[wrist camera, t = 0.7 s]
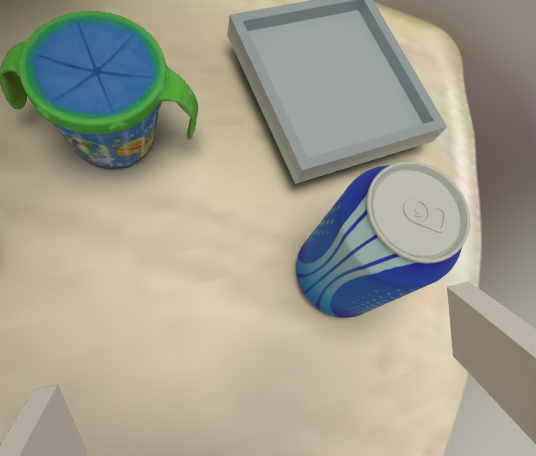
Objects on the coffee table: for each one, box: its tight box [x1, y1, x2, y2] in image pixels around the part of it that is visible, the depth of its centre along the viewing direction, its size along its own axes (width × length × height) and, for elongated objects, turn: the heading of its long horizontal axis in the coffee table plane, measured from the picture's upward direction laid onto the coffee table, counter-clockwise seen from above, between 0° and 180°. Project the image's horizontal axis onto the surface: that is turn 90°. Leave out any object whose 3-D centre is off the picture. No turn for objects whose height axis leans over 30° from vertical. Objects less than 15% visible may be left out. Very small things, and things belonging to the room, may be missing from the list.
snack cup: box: [0, 11, 198, 168], centre depth 37 cm, size 16×10×10 cm
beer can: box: [296, 162, 470, 318], centre depth 33 cm, size 8×8×16 cm
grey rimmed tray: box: [228, 0, 447, 184], centre depth 45 cm, size 18×16×5 cm
